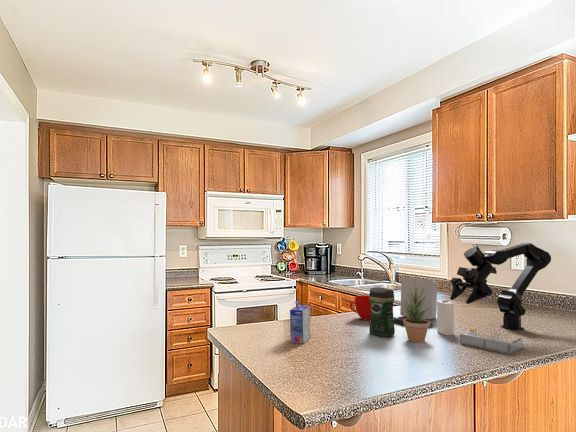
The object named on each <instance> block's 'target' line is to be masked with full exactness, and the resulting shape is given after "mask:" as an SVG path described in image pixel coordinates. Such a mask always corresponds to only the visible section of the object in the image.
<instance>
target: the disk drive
mask: <svg viewBox="0 0 576 432" xmlns="http://www.w3.org/2000/svg"><path fill="white" fill-rule="evenodd" d="M407 317H408V318H409V316H407ZM407 317H406V316H398V317H396V316H395V317H394V316H393V318H394V325H395V324H396V325H398V326H403V327H405V325H404V323H403V320H404V319H408V318H407ZM428 321H429V320H428ZM429 322H430V327H429V328H433V325H434V324H433V322H432V321H429ZM429 328H428V329H429Z"/></svg>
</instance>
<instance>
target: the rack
mask: <svg viewBox="0 0 576 432" xmlns="http://www.w3.org/2000/svg"><path fill="white" fill-rule="evenodd" d="M460 343H461V345H466V346H469V347H470V346H471V347H474V346H475V348H478V347H479V348H480V349H483V350H488V351H494V352H499V353H502V354H508V355H513V354H514V353H515V352H517V351H520V349H523V348H524V338H522V337H519V338H517V339H515V340H513V341H511V342H510V341H505V340H500V333H495V334H491V335H490V336H488V337H484V336H479V335H478V329H477V328H471V329H470V331H467V332H465V333H464V332H461V333H459V344H460Z"/></svg>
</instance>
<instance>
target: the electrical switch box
mask: <svg viewBox="0 0 576 432" xmlns="http://www.w3.org/2000/svg"><path fill="white" fill-rule="evenodd" d="M426 280H427V284H426V287H425V289H424V292H423V294H422V296H421V299H420V300H422V299H423V298H424V297H425V295H426V297H425V302H424V304H423V306H422V308H421V309H420V311H422V310H424V311H425V310H426V309H428V308H429V309H428V310H427V311H426V312H425V313H424V315H423V316H422V317H421V318H423V317H424V318H423V320H431V319H436V318H437V301H438V297H437V296H438V285H437V281H435V280H432V279H427V278H424V277H423V278H422V277H420V276H416V289H417V287H418V295H419V293H420V291H422V289H423V287H424V285H425V283H426ZM414 281H415V276H412V277H405V278H401V281H400V282H401V284H400V285H401V286H400V310H399V312H400V314H399V315H400V316H401V317H403V316H409V315H408V314H407V313H406V312H405V310H406V308H405V305H406V307H407V308H408V309H409V307H408V306H407V304H406V303H405V301H406V302H407V303H408V304H409V305H411V303H410V300H409V297H408V293H409V295H410V297H411V292H410V286H411V289H412V292H413V294H414V297H415V286H414ZM404 304H405V305H404ZM409 310H410V309H409ZM406 311H407V310H406ZM421 318H420V319H421Z"/></svg>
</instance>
